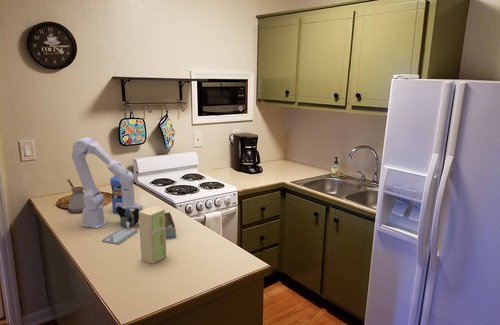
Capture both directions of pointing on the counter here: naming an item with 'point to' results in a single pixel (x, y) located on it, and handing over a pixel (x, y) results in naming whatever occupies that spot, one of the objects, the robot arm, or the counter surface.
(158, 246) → the toy refrigerator
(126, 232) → the tray
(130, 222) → the block
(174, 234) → the beverage carton
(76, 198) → the coffee pot
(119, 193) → the water bottle
